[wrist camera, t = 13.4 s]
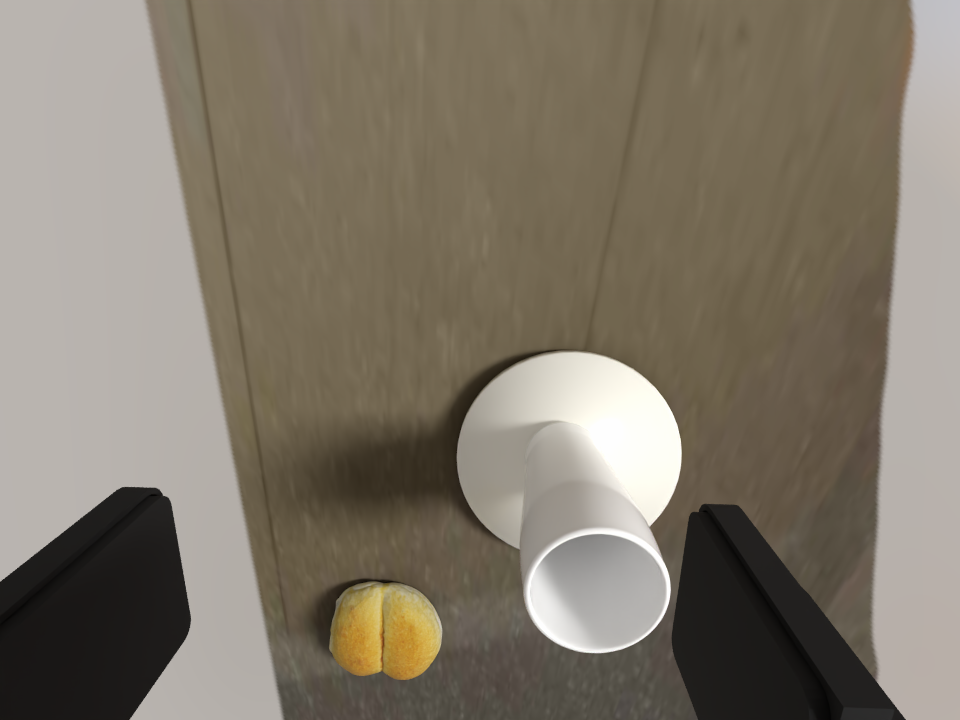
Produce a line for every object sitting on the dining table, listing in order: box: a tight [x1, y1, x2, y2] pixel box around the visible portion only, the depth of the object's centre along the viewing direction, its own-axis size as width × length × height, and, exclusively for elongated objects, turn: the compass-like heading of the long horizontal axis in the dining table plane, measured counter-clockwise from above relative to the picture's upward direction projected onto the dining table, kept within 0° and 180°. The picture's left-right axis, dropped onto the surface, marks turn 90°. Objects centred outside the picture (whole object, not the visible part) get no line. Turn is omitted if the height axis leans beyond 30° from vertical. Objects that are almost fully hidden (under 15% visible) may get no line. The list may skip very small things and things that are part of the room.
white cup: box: [520, 422, 670, 653], centre depth 32 cm, size 7×7×15 cm
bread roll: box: [329, 581, 442, 680], centre depth 43 cm, size 8×9×4 cm
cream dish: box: [457, 350, 682, 549], centre depth 40 cm, size 16×16×2 cm
